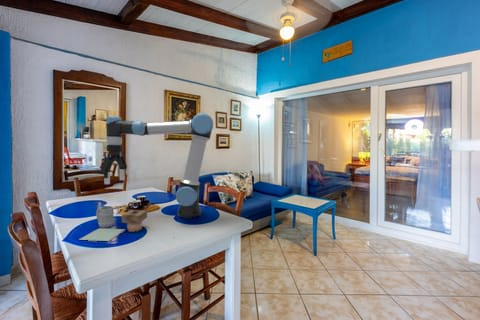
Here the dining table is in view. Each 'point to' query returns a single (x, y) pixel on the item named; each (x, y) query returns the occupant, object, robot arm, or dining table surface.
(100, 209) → the mug
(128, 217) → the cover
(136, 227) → the bowl
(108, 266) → the dining table surface
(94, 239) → the mat
